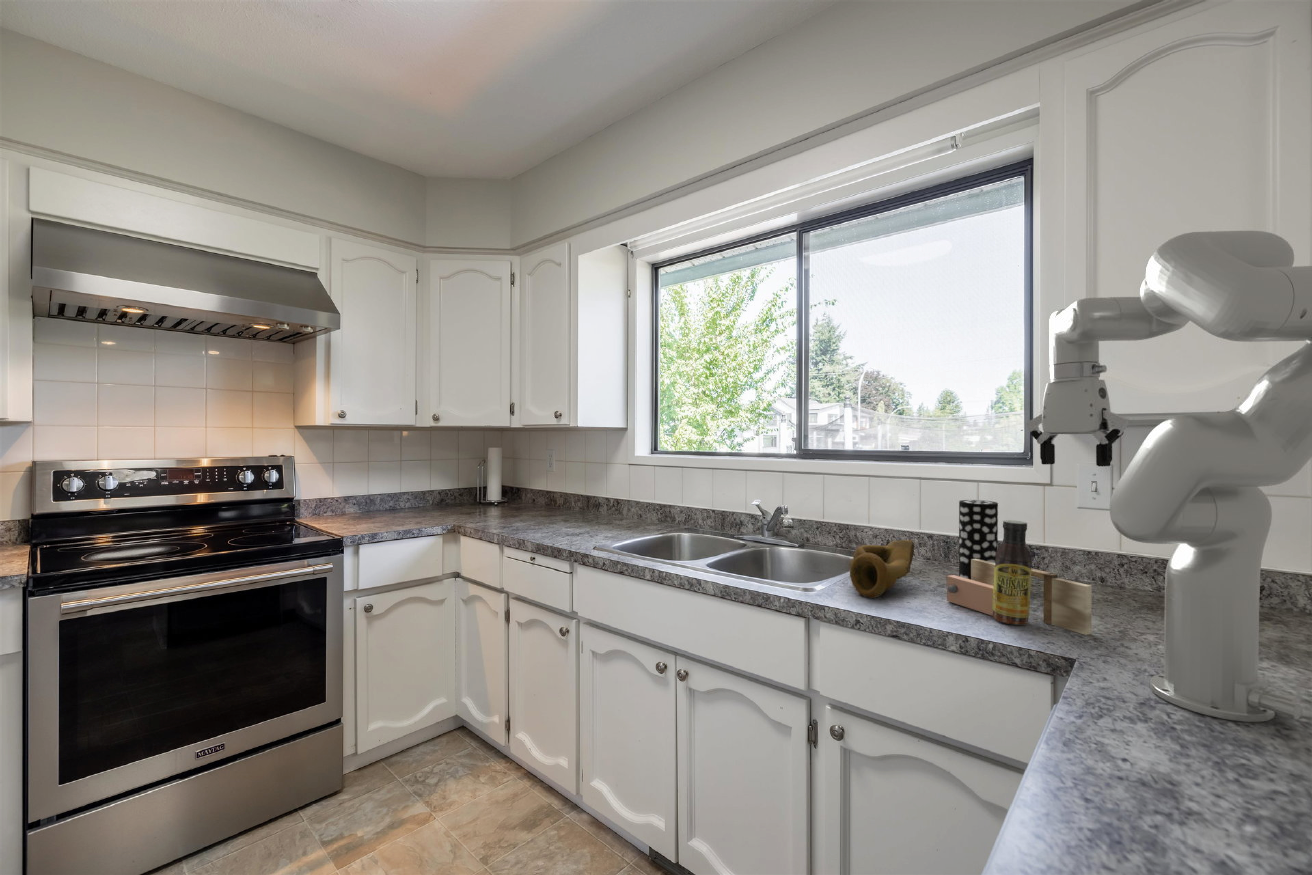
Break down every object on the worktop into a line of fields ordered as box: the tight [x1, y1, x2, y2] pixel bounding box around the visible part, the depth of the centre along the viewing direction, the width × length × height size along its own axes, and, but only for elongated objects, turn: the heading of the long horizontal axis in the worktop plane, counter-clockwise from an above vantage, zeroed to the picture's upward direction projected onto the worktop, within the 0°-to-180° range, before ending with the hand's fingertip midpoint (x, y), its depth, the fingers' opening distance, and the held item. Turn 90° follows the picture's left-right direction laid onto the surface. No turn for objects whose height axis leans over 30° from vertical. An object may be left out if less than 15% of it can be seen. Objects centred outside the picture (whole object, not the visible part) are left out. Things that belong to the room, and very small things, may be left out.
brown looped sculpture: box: [849, 539, 915, 599], centre depth 140 cm, size 18×13×22 cm
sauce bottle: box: [992, 519, 1032, 626], centre depth 114 cm, size 6×6×20 cm
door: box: [946, 574, 994, 617], centre depth 122 cm, size 11×3×6 cm, turn 22°
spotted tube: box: [958, 499, 999, 580], centre depth 142 cm, size 8×8×20 cm
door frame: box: [971, 559, 1093, 636], centre depth 118 cm, size 24×2×10 cm, turn 22°
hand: (1074, 465), depth 109 cm, fingers open, 9 cm apart
